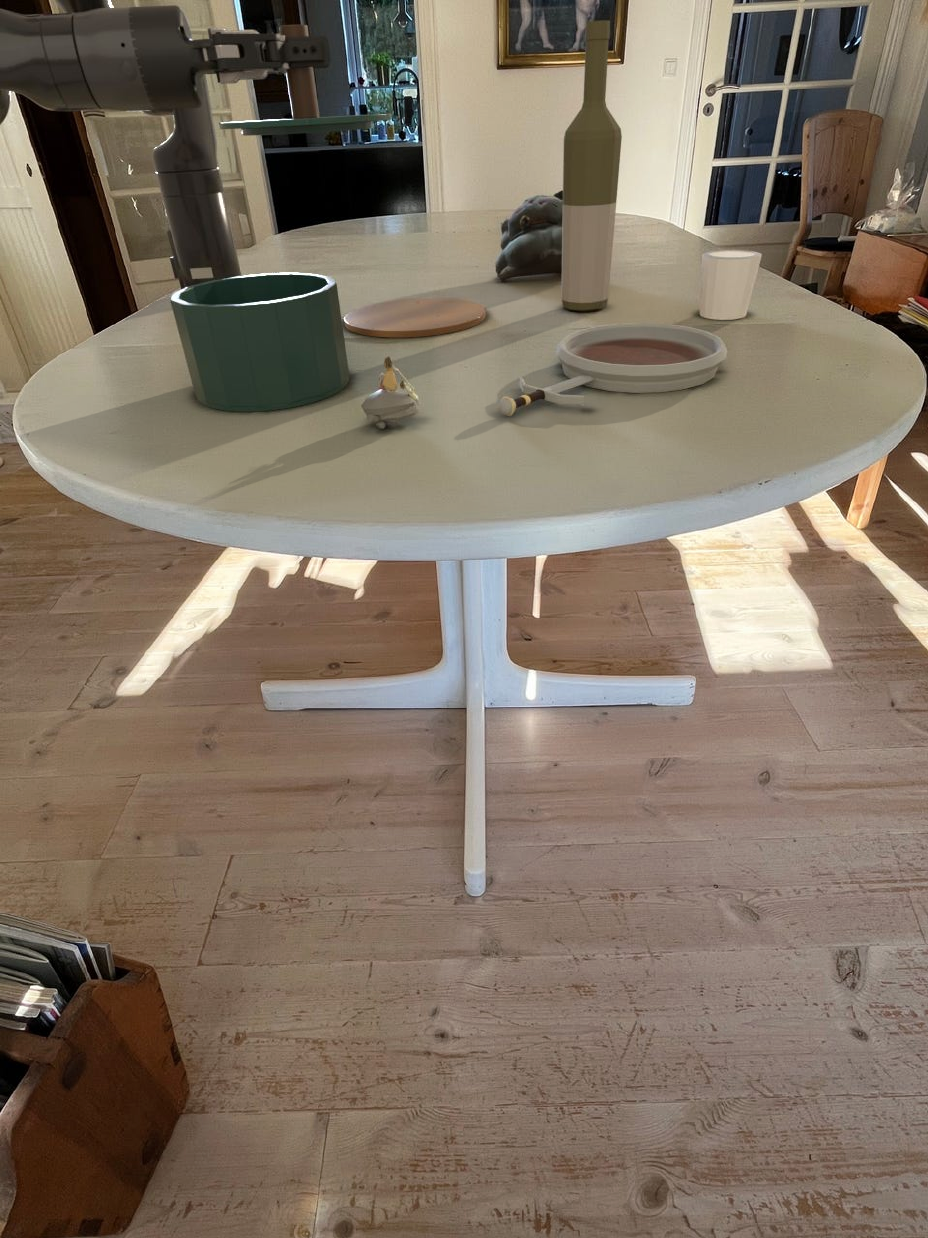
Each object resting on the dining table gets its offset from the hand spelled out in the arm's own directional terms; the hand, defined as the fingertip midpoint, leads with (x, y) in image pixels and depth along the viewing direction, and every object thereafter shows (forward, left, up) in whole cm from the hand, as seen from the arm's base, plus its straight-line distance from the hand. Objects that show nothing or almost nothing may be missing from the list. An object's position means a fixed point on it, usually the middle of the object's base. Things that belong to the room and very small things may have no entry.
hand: (328, 51), depth 68 cm
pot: (-1, -14, -28) cm, 31 cm away
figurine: (+17, -18, -28) cm, 37 cm away
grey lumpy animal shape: (0, +47, -28) cm, 55 cm away
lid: (-2, -2, -5) cm, 6 cm away
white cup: (+34, +31, -28) cm, 54 cm away
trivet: (-3, +16, -28) cm, 32 cm away
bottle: (+16, +29, -28) cm, 43 cm away
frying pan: (+30, 0, -28) cm, 41 cm away
